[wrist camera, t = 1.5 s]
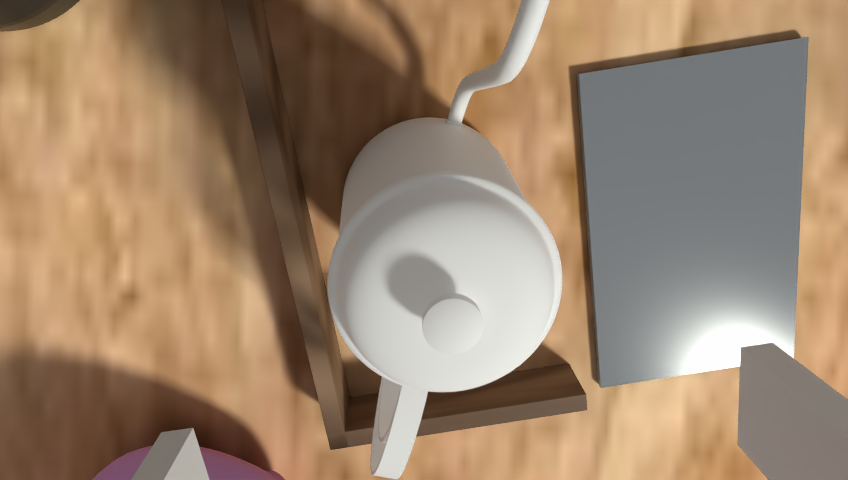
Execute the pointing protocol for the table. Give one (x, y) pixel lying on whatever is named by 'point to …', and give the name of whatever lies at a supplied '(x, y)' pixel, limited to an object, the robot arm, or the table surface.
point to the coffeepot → (441, 260)
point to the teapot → (225, 471)
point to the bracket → (340, 413)
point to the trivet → (693, 207)
